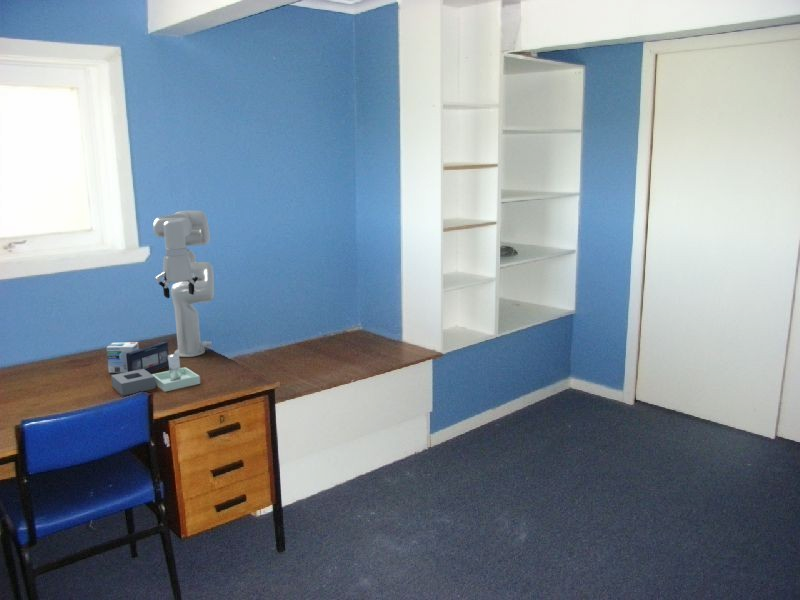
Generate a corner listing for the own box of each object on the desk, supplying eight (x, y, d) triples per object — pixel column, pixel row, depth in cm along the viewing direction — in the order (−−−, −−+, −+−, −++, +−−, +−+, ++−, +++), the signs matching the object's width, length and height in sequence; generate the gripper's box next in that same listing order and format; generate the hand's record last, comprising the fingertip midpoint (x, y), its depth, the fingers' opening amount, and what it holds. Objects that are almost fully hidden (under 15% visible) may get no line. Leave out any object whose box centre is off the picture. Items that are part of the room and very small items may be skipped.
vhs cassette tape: (132, 378, 264) (129, 354, 262) (127, 377, 266) (124, 353, 264) (170, 366, 279) (168, 342, 277) (165, 364, 281) (163, 341, 279)
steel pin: (178, 378, 262) (176, 353, 260) (182, 380, 259) (180, 355, 257) (168, 380, 259) (166, 355, 257) (172, 383, 256) (170, 357, 254)
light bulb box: (108, 373, 271) (105, 347, 269) (114, 367, 278) (112, 342, 275) (135, 372, 271) (133, 346, 269) (141, 367, 278) (138, 341, 276)
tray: (186, 374, 269) (185, 367, 268) (200, 383, 258) (199, 375, 258) (151, 382, 260) (150, 374, 260) (164, 391, 250) (164, 383, 249)
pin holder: (144, 379, 263) (143, 368, 262) (155, 388, 254) (154, 376, 253) (112, 386, 255) (111, 375, 254) (122, 395, 246) (121, 383, 245)
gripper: (193, 249, 272) (196, 291, 276) (150, 253, 262) (154, 297, 265) (201, 251, 267) (204, 294, 270) (157, 256, 256) (161, 300, 260)
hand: (179, 295), depth 268 cm, fingers open, 9 cm apart
